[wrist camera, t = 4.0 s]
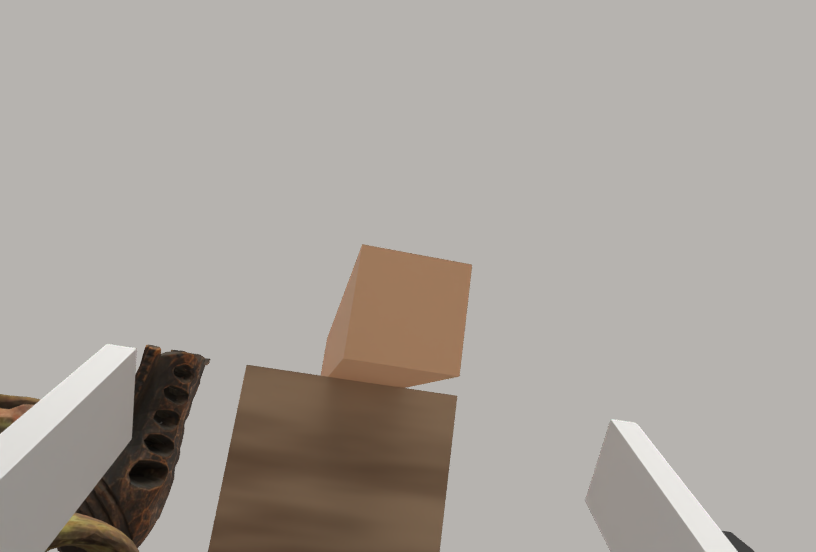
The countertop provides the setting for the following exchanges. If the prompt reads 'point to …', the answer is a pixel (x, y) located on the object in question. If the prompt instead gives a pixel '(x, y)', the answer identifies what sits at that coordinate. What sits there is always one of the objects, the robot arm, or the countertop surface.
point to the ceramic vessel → (98, 538)
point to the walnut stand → (334, 466)
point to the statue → (147, 446)
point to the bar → (399, 320)
